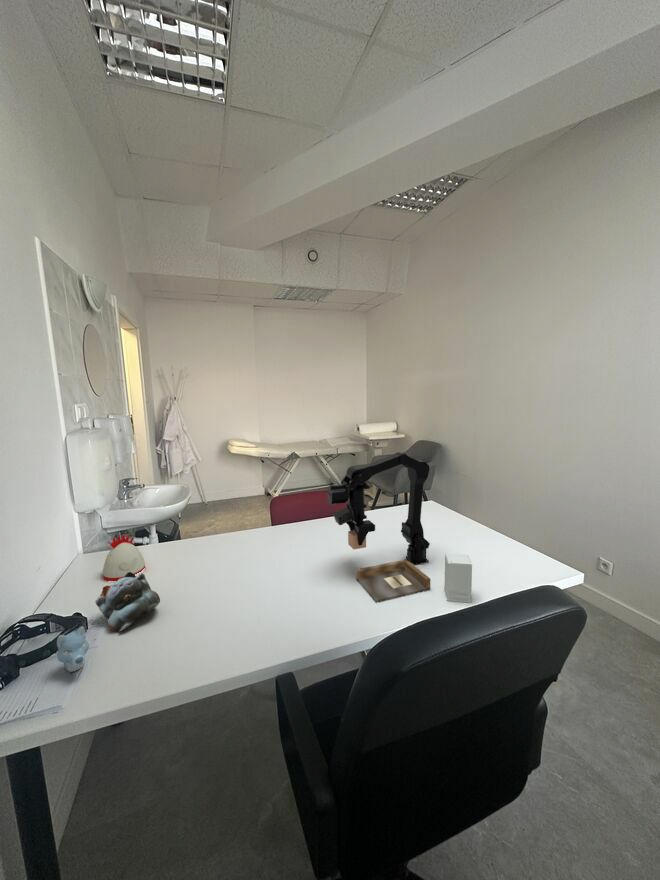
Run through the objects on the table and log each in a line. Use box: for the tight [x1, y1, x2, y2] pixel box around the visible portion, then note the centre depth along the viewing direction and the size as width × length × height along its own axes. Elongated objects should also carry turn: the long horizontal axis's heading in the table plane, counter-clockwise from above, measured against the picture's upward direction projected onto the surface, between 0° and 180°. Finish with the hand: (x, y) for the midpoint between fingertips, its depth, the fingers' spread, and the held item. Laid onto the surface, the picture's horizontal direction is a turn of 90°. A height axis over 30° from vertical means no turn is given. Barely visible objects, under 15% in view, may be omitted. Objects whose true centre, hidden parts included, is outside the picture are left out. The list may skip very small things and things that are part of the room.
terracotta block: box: [347, 530, 367, 550], centre depth 131 cm, size 5×5×5 cm
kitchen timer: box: [102, 533, 146, 582], centre depth 135 cm, size 14×14×15 cm
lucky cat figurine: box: [95, 572, 161, 633], centre depth 107 cm, size 15×12×14 cm
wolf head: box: [56, 625, 90, 673], centre depth 86 cm, size 6×9×10 cm
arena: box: [356, 559, 431, 604], centre depth 122 cm, size 20×15×4 cm
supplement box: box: [443, 552, 473, 604], centre depth 114 cm, size 7×7×13 cm
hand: (357, 542), depth 131 cm, fingers closed on terracotta block, 5 cm apart
